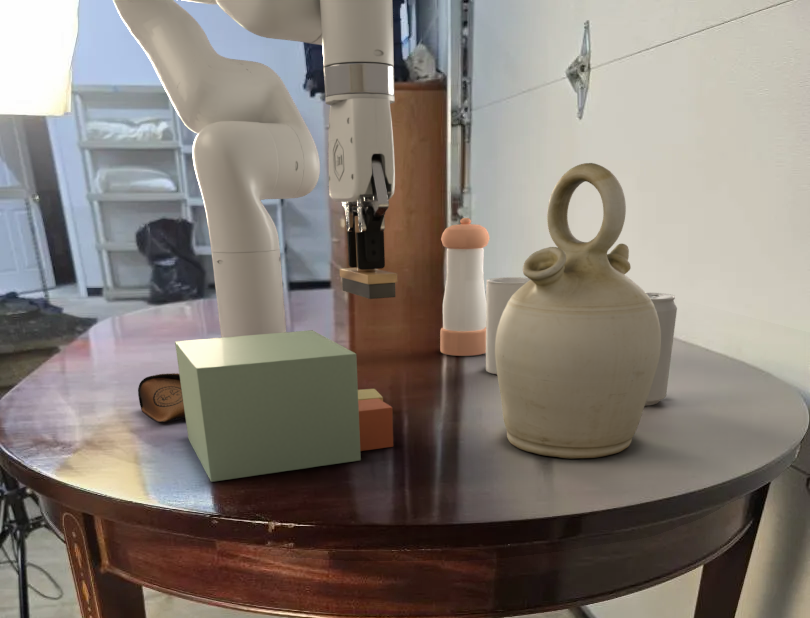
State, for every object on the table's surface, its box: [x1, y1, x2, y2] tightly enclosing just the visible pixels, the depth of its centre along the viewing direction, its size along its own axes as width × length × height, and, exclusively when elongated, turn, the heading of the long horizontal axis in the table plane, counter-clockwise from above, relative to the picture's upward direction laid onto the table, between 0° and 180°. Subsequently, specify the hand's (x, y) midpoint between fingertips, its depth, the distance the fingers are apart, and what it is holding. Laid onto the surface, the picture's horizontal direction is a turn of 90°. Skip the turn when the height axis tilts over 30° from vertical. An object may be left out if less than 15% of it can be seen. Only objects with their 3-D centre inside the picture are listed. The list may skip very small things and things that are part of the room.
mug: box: [485, 276, 531, 375], centre depth 105 cm, size 10×7×12 cm, turn 119°
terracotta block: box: [358, 398, 394, 452], centre depth 77 cm, size 4×4×4 cm
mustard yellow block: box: [358, 388, 384, 402], centre depth 81 cm, size 4×4×4 cm
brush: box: [339, 216, 398, 300], centre depth 90 cm, size 10×4×9 cm, turn 23°
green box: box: [174, 329, 362, 483], centre depth 75 cm, size 16×14×10 cm
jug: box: [495, 162, 661, 460], centre depth 72 cm, size 15×16×25 cm
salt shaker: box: [439, 217, 491, 357], centre depth 116 cm, size 7×7×19 cm
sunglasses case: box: [137, 372, 186, 423], centre depth 92 cm, size 18×7×7 cm
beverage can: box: [644, 292, 678, 407], centre depth 89 cm, size 6×6×12 cm
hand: (366, 266), depth 91 cm, fingers closed on brush, 2 cm apart
